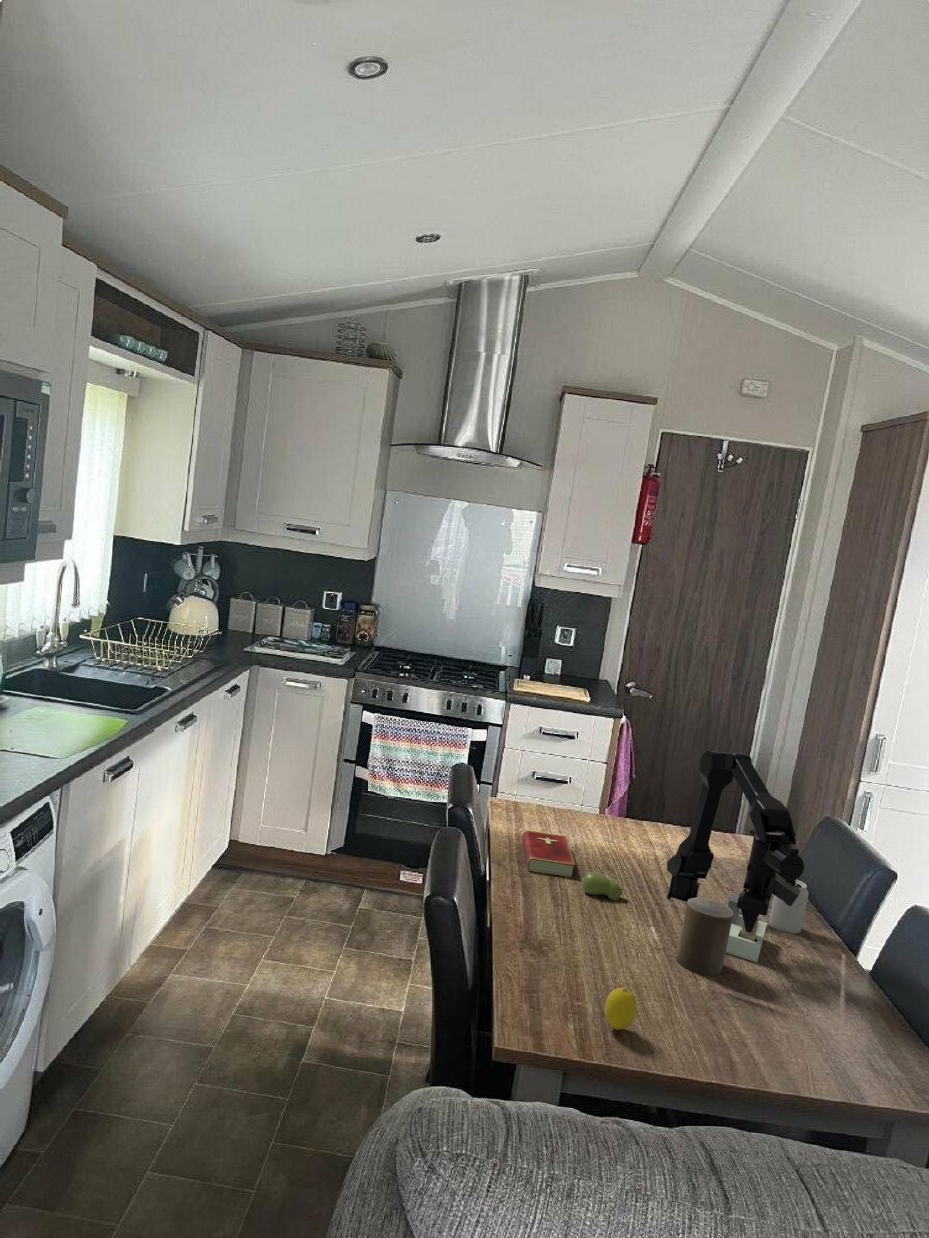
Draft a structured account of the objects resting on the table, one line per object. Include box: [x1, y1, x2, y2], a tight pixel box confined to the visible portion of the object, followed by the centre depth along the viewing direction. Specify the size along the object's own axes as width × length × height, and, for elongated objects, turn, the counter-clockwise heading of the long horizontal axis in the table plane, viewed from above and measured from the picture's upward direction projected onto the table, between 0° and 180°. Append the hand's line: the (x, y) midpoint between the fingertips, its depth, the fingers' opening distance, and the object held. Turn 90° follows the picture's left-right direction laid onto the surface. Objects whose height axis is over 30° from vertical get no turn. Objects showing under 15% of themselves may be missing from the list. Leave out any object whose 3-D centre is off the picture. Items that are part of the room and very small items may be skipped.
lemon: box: [604, 987, 637, 1031], centre depth 167 cm, size 6×6×8 cm
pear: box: [581, 871, 624, 902], centre depth 228 cm, size 6×5×10 cm
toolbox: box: [725, 934, 764, 963], centre depth 210 cm, size 10×14×4 cm
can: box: [768, 879, 810, 935], centre depth 225 cm, size 8×8×12 cm
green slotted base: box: [727, 891, 768, 950], centre depth 210 cm, size 10×14×6 cm
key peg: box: [740, 914, 761, 941], centre depth 206 cm, size 3×3×9 cm
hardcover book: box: [521, 829, 576, 878], centre depth 247 cm, size 12×21×4 cm, turn 0°
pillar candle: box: [674, 896, 733, 977], centre depth 196 cm, size 10×10×15 cm
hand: (749, 929), depth 205 cm, fingers closed on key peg, 3 cm apart
